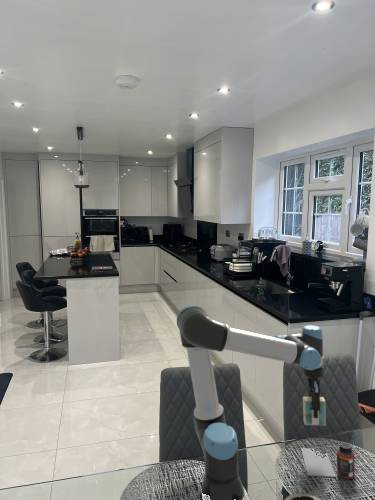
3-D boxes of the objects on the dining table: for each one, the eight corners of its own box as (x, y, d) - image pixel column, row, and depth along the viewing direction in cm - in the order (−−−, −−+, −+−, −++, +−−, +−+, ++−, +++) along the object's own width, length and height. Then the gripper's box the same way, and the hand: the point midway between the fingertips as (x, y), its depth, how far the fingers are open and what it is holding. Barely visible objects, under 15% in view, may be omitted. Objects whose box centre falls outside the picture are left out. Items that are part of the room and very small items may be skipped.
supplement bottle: (356, 480, 131) (356, 451, 130) (339, 479, 132) (338, 449, 131) (352, 469, 137) (352, 441, 136) (335, 468, 138) (335, 439, 137)
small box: (304, 424, 145) (304, 400, 144) (303, 420, 148) (302, 396, 147) (325, 425, 143) (325, 401, 143) (323, 420, 147) (323, 397, 146)
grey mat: (307, 475, 135) (307, 474, 135) (300, 449, 150) (300, 448, 150) (335, 477, 133) (335, 476, 133) (325, 450, 149) (325, 449, 149)
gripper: (327, 373, 135) (329, 433, 137) (318, 357, 152) (319, 411, 153) (307, 373, 136) (308, 433, 138) (300, 357, 153) (301, 410, 154)
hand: (314, 421), depth 146 cm, fingers closed on small box, 4 cm apart
